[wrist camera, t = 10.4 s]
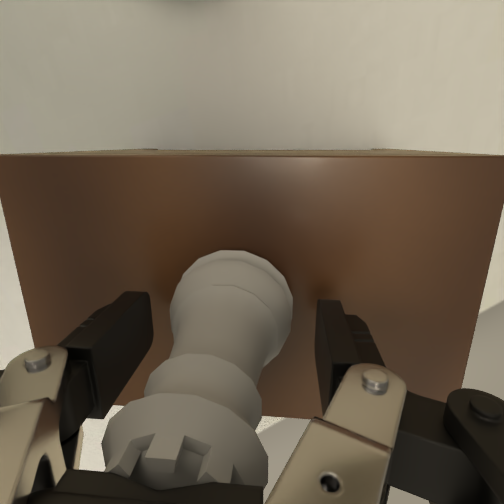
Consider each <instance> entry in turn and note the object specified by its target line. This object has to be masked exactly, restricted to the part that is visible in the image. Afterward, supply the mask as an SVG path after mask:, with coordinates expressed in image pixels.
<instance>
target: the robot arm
mask: <svg viewBox="0 0 504 504" xmlns="http://www.w3.org/2000/svg"><path fill="white" fill-rule="evenodd" d="M153 336H154V330H153V320H152V310H151V301H150V296H149V293H148V292H141V291H125V292H124V293H122V294H121V295H120V296H119V297H118V298H117V299H116V300H115V301H114V302H113V303H112V304H108V305H106V306H104V307H102V308H100V309H98V310H96V311H95V312H94V313H93V314H92V315H90V316H89V317H88V318H87V320H85V321H84V322H83V323H81V324H80V326H79V327H77V328H76V329H75V330H73V331H72V332H71V333H70V334H69V335H68V336H67V337H65V338H64V339H63V340H62V341H61V342H60V343H59V344H58V345H56V346H55V345H50V346H42V347H38V348H34V349H31V350H29V351H26V352H24V353H22V354H20V355H18V356H17V357H15V358H14V359H13V360H11V362H10V363H9V364H8V365H7V367H6V369H5V370H0V504H263V486H252V485H242V484H231V483H220V482H209V483H203V484H197V485H190V486H184V487H178V488H172V489H165V490H155V489H152V488H150V487H147V486H145V485H142V484H140V483H137V482H135V481H132V480H130V479H128V478H125V477H123V476H120V475H118V474H115V473H111V472H100V471H89V470H79V465H80V458H81V450H82V443H83V436H84V433H83V428H82V424H83V422H84V421H85V419H86V418H92V419H104V418H105V416H106V415H107V413H108V412H109V410H110V409H111V407H112V406H113V404H114V403H115V401H116V400H117V398H118V396H119V395H120V393H121V392H122V390H123V389H124V387H125V386H126V384H127V383H128V381H129V380H130V378H131V377H132V375H133V374H134V372H135V371H136V369H137V368H138V366H139V365H140V363H141V362H142V360H143V359H144V357H145V356H146V354H147V353H148V351H149V350H150V348H151V345H152V342H153ZM314 349H315V362H316V370H317V377H318V384H319V392H320V399H321V406H322V414H323V418H322V419H321V418H319V417H316V416H315V417H313V418H312V419H311V421H310V422H309V424H308V426H307V428H306V429H305V431H304V433H303V435H302V437H301V438H300V440H299V442H298V444H297V446H296V448H295V449H294V451H293V453H292V455H291V457H290V459H289V461H288V462H287V464H286V466H285V468H284V470H283V471H282V473H281V475H280V477H279V478H278V480H277V482H276V484H275V486H274V488H273V489H272V491H271V493H270V495H269V497H268V499H267V500H266V502H265V504H387V500H388V495H389V490H390V486H393V487H395V488H398V489H400V490H403V491H406V492H408V493H411V494H413V495H416V496H419V497H421V498H424V499H426V500H429V503H430V504H504V401H503V400H502V399H500V398H498V397H496V396H494V395H492V394H489V393H486V392H483V391H479V390H475V389H466V388H463V389H457V390H454V391H452V392H451V393H449V395H448V397H447V401H446V403H445V402H441V401H437V400H434V399H430V398H427V397H423V396H420V395H417V394H415V393H412V392H410V391H408V390H407V387H406V384H405V382H404V380H403V379H402V378H401V377H400V376H399V375H398V374H397V373H396V372H394V371H392V370H391V369H389V368H386V366H385V364H384V362H383V359H382V357H381V355H380V353H379V350H378V348H377V346H376V344H375V342H374V339H373V337H372V335H371V334H370V330H369V328H368V326H367V324H366V322H364V321H363V320H362V319H361V318H359V317H358V316H357V315H348V314H345V312H344V309H343V307H342V304H341V301H340V300H331V299H318V301H317V311H316V326H315V345H314Z"/></svg>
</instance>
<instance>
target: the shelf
mask: <svg viewBox="0 0 504 504" xmlns="http://www.w3.org/2000/svg"><path fill="white" fill-rule="evenodd" d="M0 199H1V203H2V208H3V212H4V216H5V221H6V225H7V229H8V234H9V238H10V242H11V247H12V251H13V255H14V260H15V264H16V268H17V273H18V277H19V281H20V286H21V290H22V294H23V299H24V303H25V307H26V312H27V316H28V320H29V325H30V329H31V333H32V338H33V342H34V346H35V348H38V347H42V346H50V345H55V346H56V345H58V344H59V343H60V342H61V341H62V340H63V339H64V338H65V337H67V336H68V335H69V334H70V333H71V332H72V331H73V330H75V329H76V328H77V327H79V326H80V324H81V323H83V322H84V321H85V320H87V318H88V317H89V316H90V315H92V314H93V313H94V312H95V311H96V310H98V309H100V308H102V307H104V306H106V305H108V304H112V303H113V302H114V301H115V300H116V299H117V298H118V297H119V296H120V295H121V294H122V293H124V292H125V291H141V292H148V293H149V296H150V301H151V310H152V320H153V330H154V336H153V342H152V345H151V348H150V350H149V351H148V353H147V354H146V356H145V357H144V359H143V360H142V362H141V363H140V365H139V366H138V368H137V369H136V371H135V372H134V374H133V375H132V377H131V378H130V380H129V381H128V383H127V384H126V386H125V387H124V389H123V390H122V392H121V393H120V395H119V396H118V398H117V400H116V401H115V403H114V404H113V405H120V406H126V405H127V404H128V403H129V402H131V401H134V400H137V399H141V398H144V390H145V387H146V384H147V382H148V379H149V376H150V374H151V373H152V372H153V371H154V370H155V369H156V368H157V367H159V366H160V365H161V364H162V363H163V362H164V361H165V360H168V359H169V357H170V354H171V351H172V348H173V345H174V337H173V333H172V330H171V319H170V304H171V301H172V298H173V296H174V293H175V290H176V287H177V285H178V283H179V282H180V281H181V279H182V276H183V274H184V273H185V272H186V271H187V270H188V269H189V268H190V267H191V266H192V265H193V264H194V263H195V262H196V261H197V260H198V259H199V258H201V257H204V256H207V255H209V254H212V253H214V252H217V251H220V250H231V251H246V252H249V253H251V254H253V255H256V256H258V257H261V258H263V259H265V260H267V261H268V262H269V263H271V264H272V265H273V266H274V267H275V268H276V269H277V270H278V271H279V272H280V273H281V274H282V275H283V276H284V278H285V280H286V282H287V285H288V287H289V290H290V292H291V294H292V297H293V309H292V320H291V331H290V333H289V335H288V337H287V339H286V341H285V343H284V345H283V347H282V348H281V350H280V352H279V354H278V355H277V356H276V357H274V358H273V359H272V360H271V361H270V362H269V363H268V364H267V365H266V366H264V367H263V368H262V371H261V374H260V377H259V380H258V383H257V387H256V389H257V391H258V393H259V395H260V397H261V399H262V416H273V417H287V418H302V419H312V418H313V417H315V416H316V417H319V418H321V419H322V418H323V414H322V406H321V399H320V392H319V384H318V377H317V370H316V362H315V349H314V345H315V326H316V311H317V301H318V299H331V300H340V301H341V304H342V307H343V309H344V312H345V314H348V315H357V316H358V317H359V318H361V319H362V320H363V321H364V322H366V324H367V326H368V328H369V330H370V334H371V335H372V337H373V339H374V342H375V344H376V346H377V348H378V350H379V353H380V355H381V357H382V359H383V362H384V364H385V366H386V368H389V369H391V370H392V371H394V372H396V373H397V374H398V375H399V376H400V377H401V378H402V379H403V380H404V382H405V384H406V387H407V390H408V391H410V392H412V393H415V394H417V395H420V396H423V397H427V398H430V399H434V400H437V401H441V402H445V403H446V401H447V397H448V395H449V393H451V392H452V391H454V390H457V389H461V387H462V383H463V379H464V374H465V369H466V365H467V361H468V356H469V352H470V348H471V344H472V339H473V335H474V331H475V326H476V321H477V318H478V313H479V309H480V304H481V300H482V296H483V291H484V287H485V283H486V278H487V274H488V270H489V265H490V261H491V257H492V252H493V248H494V244H495V239H496V235H497V230H498V226H499V222H500V217H501V213H502V209H503V204H504V155H489V154H471V153H453V152H435V151H417V150H399V149H371V150H158V149H125V150H100V151H74V152H49V153H23V154H0Z"/></svg>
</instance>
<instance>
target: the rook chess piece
mask: <svg viewBox="0 0 504 504" xmlns="http://www.w3.org/2000/svg"><path fill="white" fill-rule="evenodd" d="M292 309H293V297H292V294H291V292H290V290H289V287H288V285H287V282H286V280H285V278H284V276H283V275H282V274H281V273H280V272H279V271H278V270H277V269H276V268H275V267H274V266H273V265H272V264H271V263H269V262H268V261H267V260H265V259H263V258H261V257H258V256H256V255H253V254H251V253H249V252H246V251H231V250H220V251H217V252H214V253H212V254H209V255H207V256H204V257H201V258H199V259H198V260H197V261H196V262H195V263H194V264H193V265H192V266H191V267H190V268H189V269H188V270H187V271H186V272H185V273H184V274H183V276H182V279H181V281H180V282H179V283H178V285H177V287H176V290H175V293H174V296H173V298H172V301H171V304H170V319H171V330H172V333H173V337H174V345H173V348H172V351H171V354H170V357H169V359H168V360H165V361H164V362H163V363H162V364H161V365H160V366H159V367H157V368H156V369H155V370H154V371H153V372H152V373H151V374H150V376H149V379H148V382H147V384H146V387H145V390H144V398H141V399H137V400H134V401H131V402H129V403H128V404H127V405H126V406H124V407H123V408H122V409H121V410H120V411H119V412H118V413H117V414H115V415H114V416H113V417H112V418H111V419H110V420H109V422H108V425H107V428H106V431H105V434H104V437H103V440H102V443H101V444H102V450H103V455H104V460H105V466H106V469H105V471H104V472H111V473H115V474H118V475H120V476H123V477H125V478H128V479H130V480H132V481H135V482H137V483H140V484H142V485H145V486H147V487H150V488H152V489H155V490H165V489H172V488H178V487H184V486H190V485H197V484H203V483H209V482H220V483H231V484H242V485H252V486H263V490H264V488H265V486H266V485H267V483H268V456H267V454H266V452H265V450H264V448H263V446H262V444H261V442H260V440H259V438H258V436H257V434H256V432H255V430H256V428H257V426H258V424H259V422H260V421H261V419H262V399H261V397H260V395H259V393H258V391H257V389H256V387H257V383H258V380H259V377H260V374H261V371H262V368H263V367H264V366H266V365H267V364H268V363H269V362H270V361H271V360H272V359H273V358H274V357H276V356H277V355H278V354H279V352H280V350H281V348H282V347H283V345H284V343H285V341H286V339H287V337H288V335H289V333H290V331H291V320H292Z"/></svg>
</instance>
